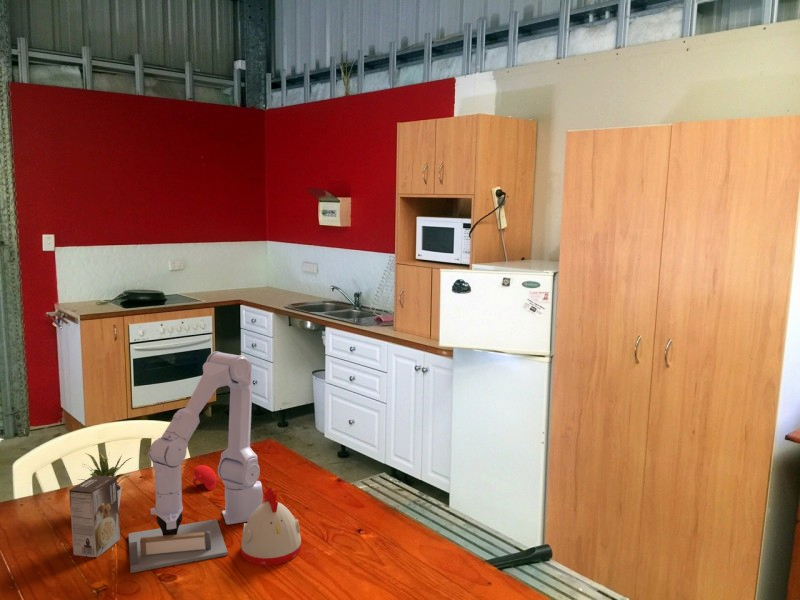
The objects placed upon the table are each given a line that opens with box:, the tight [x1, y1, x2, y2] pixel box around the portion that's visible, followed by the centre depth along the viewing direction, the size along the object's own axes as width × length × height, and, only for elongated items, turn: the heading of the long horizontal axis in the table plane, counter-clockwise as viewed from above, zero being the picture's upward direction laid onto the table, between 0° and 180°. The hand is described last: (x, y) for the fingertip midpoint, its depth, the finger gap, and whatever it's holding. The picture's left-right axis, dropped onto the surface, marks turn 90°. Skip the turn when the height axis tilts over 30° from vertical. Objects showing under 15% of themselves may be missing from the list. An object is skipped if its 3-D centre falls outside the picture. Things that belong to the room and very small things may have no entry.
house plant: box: [77, 452, 134, 510], centre depth 178 cm, size 14×14×16 cm
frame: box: [128, 518, 229, 574], centre depth 162 cm, size 21×18×5 cm
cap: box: [192, 464, 218, 491], centre depth 196 cm, size 8×6×6 cm
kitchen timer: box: [240, 487, 302, 566], centre depth 160 cm, size 14×14×15 cm
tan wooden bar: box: [140, 532, 205, 556], centre depth 157 cm, size 14×1×4 cm, turn 103°
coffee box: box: [68, 475, 121, 558], centre depth 160 cm, size 9×6×16 cm
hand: (170, 545), depth 159 cm, fingers closed
